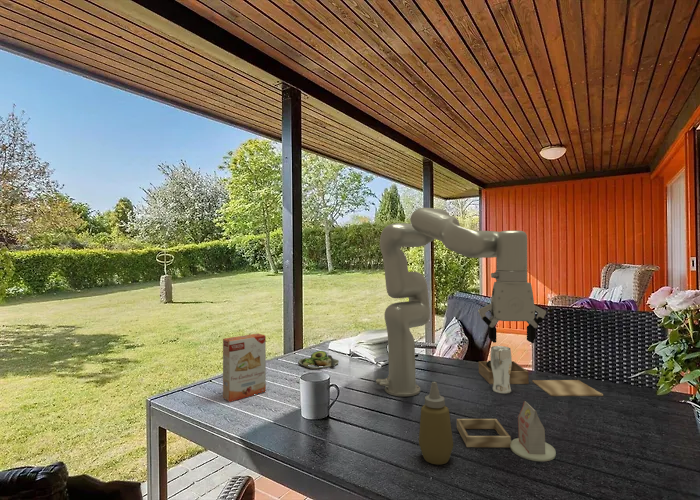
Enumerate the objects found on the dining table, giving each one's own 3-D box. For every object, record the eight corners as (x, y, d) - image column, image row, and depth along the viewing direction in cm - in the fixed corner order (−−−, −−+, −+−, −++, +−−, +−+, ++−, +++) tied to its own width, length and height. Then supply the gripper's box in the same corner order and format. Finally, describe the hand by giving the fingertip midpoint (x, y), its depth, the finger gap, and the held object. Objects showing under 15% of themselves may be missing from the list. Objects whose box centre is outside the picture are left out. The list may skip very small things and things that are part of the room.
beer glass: (508, 387, 138) (507, 345, 138) (515, 394, 131) (514, 350, 131) (489, 387, 139) (487, 345, 139) (494, 393, 132) (493, 350, 132)
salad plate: (349, 366, 170) (349, 356, 170) (315, 374, 160) (314, 363, 160) (326, 357, 186) (326, 348, 186) (293, 364, 176) (293, 354, 176)
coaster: (519, 461, 88) (519, 457, 88) (504, 440, 98) (504, 437, 98) (563, 461, 88) (563, 458, 88) (544, 440, 98) (543, 437, 98)
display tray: (489, 384, 142) (489, 371, 142) (478, 372, 156) (478, 361, 156) (528, 383, 141) (528, 371, 141) (514, 372, 155) (513, 361, 155)
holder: (466, 447, 95) (466, 437, 96) (456, 427, 106) (456, 418, 106) (511, 447, 95) (510, 437, 95) (496, 427, 106) (496, 418, 106)
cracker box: (229, 403, 128) (228, 340, 129) (222, 398, 133) (221, 338, 133) (266, 392, 138) (266, 334, 138) (258, 388, 142) (258, 332, 143)
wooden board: (551, 396, 128) (551, 394, 128) (532, 381, 143) (532, 380, 143) (603, 395, 128) (603, 394, 128) (578, 381, 143) (578, 380, 143)
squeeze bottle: (415, 451, 94) (413, 377, 94) (447, 449, 95) (445, 376, 95) (424, 469, 86) (422, 389, 86) (459, 466, 87) (456, 387, 87)
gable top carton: (533, 440, 97) (532, 400, 97) (545, 454, 90) (544, 411, 90) (518, 440, 97) (517, 400, 97) (529, 454, 90) (528, 411, 90)
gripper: (482, 278, 98) (482, 344, 98) (551, 278, 97) (552, 345, 97) (474, 276, 105) (474, 338, 105) (539, 276, 104) (539, 338, 104)
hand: (511, 341), depth 101 cm, fingers open, 9 cm apart
